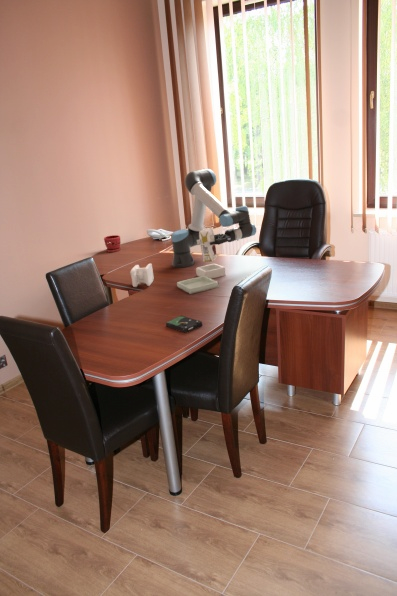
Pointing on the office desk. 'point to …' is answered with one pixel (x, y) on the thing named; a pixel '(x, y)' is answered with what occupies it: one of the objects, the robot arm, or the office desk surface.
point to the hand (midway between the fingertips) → (200, 243)
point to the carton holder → (211, 271)
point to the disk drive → (184, 324)
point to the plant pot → (112, 243)
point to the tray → (197, 284)
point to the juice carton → (209, 251)
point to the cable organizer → (142, 275)
